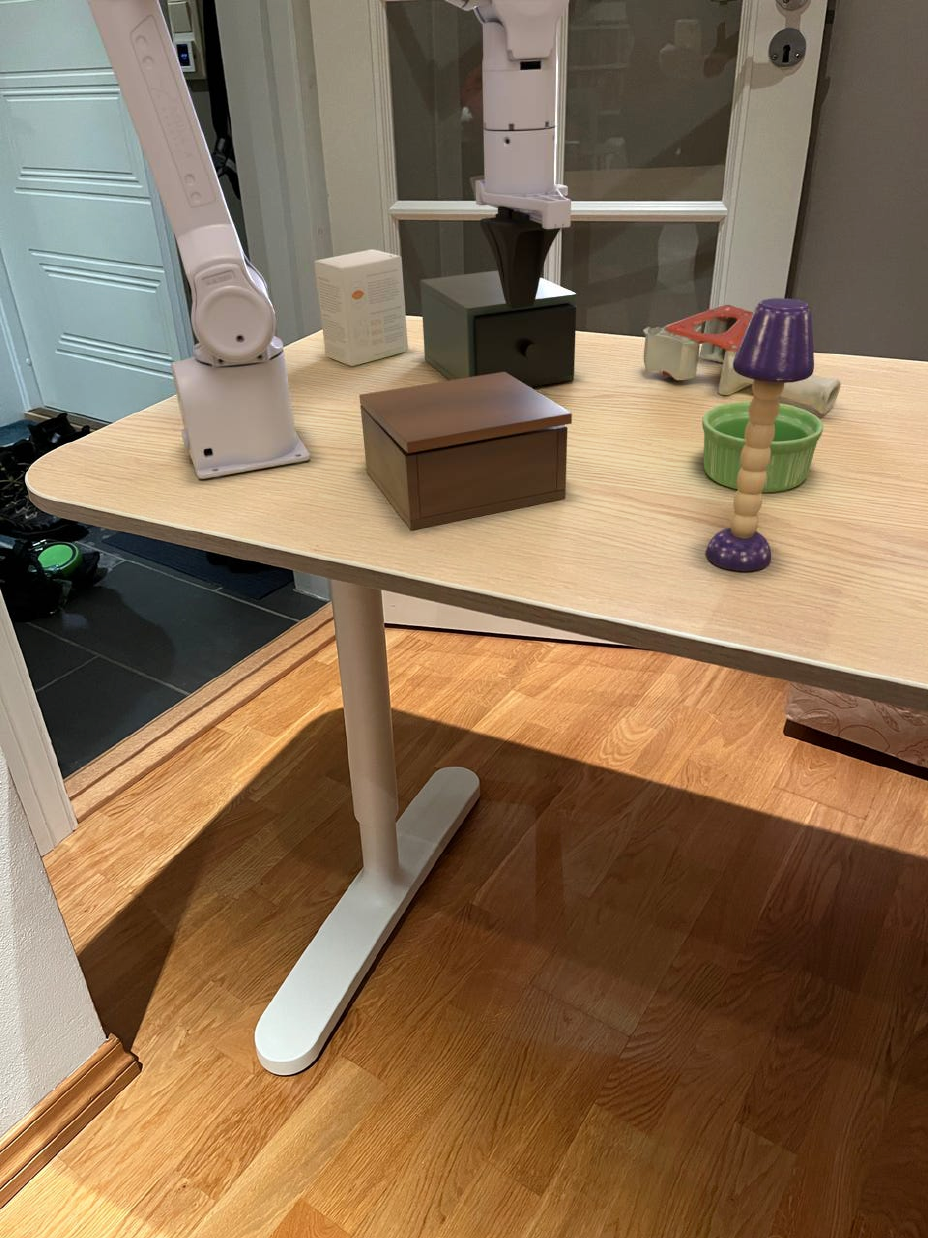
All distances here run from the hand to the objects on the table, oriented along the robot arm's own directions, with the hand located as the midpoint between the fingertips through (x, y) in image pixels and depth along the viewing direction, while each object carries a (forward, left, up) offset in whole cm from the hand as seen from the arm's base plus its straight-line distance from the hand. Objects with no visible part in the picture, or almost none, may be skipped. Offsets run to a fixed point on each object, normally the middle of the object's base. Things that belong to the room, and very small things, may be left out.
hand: (519, 305), depth 78 cm
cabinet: (+4, +15, -10) cm, 19 cm away
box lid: (-10, -11, -4) cm, 16 cm away
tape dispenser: (+23, 0, -11) cm, 25 cm away
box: (-10, -11, -10) cm, 18 cm away
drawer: (+4, +13, -10) cm, 16 cm away
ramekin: (+12, -19, -11) cm, 25 cm away
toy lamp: (+3, -30, -11) cm, 32 cm away
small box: (-7, +27, -11) cm, 30 cm away
